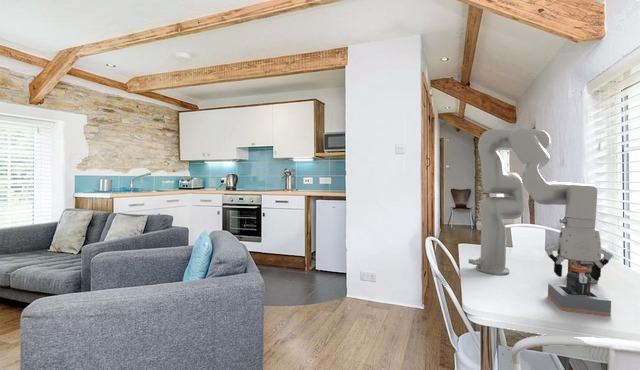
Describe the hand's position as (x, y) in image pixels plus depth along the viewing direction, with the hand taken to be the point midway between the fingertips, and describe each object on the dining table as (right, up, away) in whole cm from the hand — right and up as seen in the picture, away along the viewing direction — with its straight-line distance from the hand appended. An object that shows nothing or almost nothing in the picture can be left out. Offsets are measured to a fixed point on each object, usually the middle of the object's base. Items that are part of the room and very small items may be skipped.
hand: (576, 277), depth 102 cm
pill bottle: (0, -8, 0) cm, 8 cm away
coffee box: (+24, -9, +27) cm, 37 cm away
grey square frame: (0, -9, 0) cm, 9 cm away
